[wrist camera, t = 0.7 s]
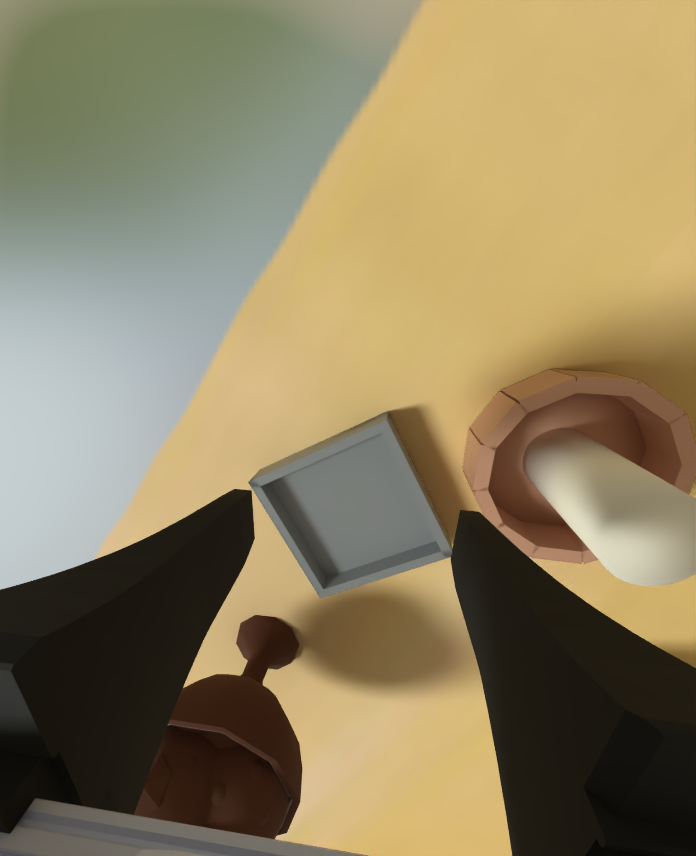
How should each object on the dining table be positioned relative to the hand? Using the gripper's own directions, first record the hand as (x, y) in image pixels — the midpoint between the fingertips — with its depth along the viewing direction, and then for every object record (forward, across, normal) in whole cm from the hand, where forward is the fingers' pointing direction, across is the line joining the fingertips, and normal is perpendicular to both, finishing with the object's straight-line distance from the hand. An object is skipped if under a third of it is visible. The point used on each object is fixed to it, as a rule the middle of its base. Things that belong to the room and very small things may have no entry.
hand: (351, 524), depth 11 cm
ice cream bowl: (+10, +7, +20) cm, 24 cm away
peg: (+10, -12, +1) cm, 15 cm away
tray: (+10, 0, +6) cm, 12 cm away
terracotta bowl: (+10, -12, +1) cm, 15 cm away
